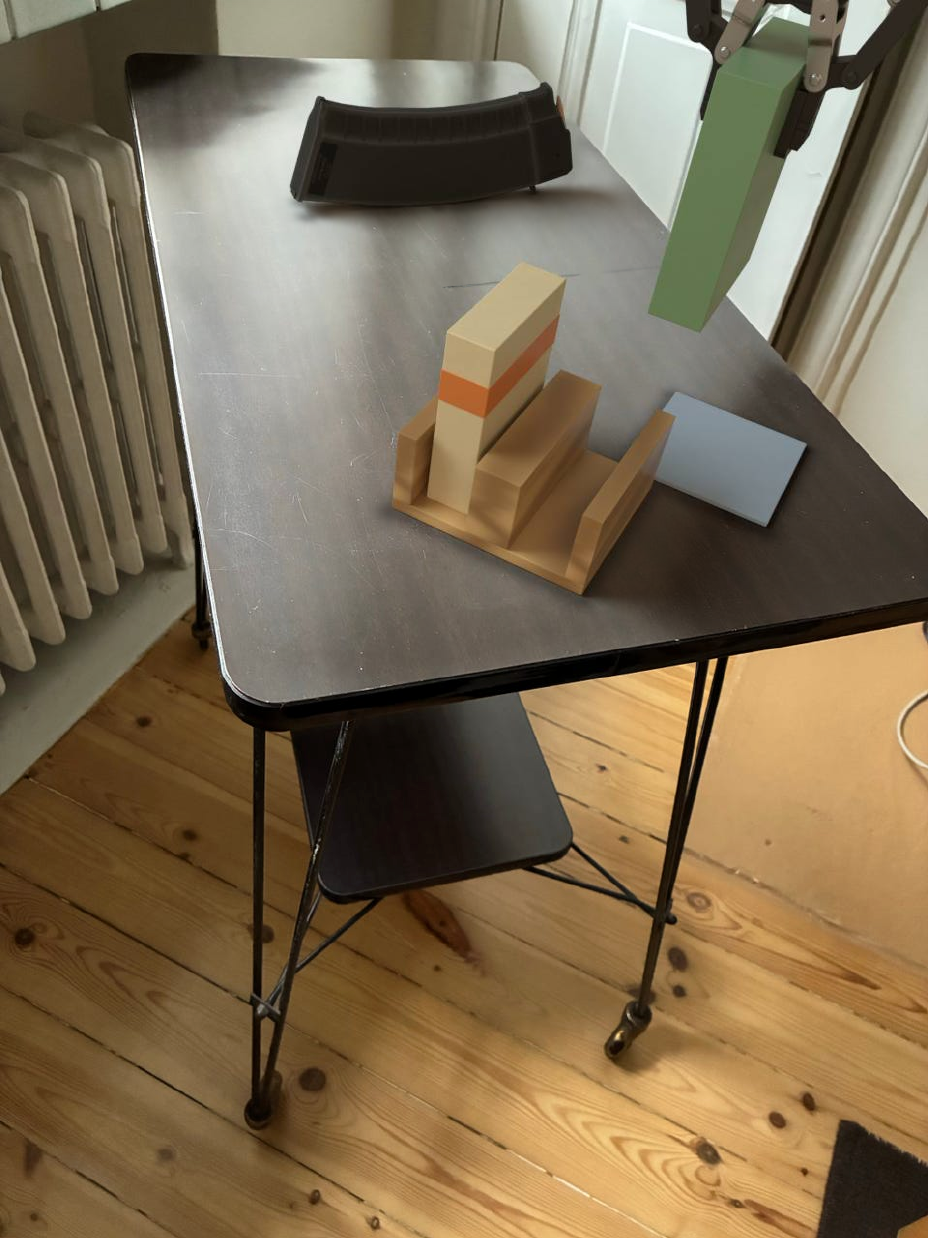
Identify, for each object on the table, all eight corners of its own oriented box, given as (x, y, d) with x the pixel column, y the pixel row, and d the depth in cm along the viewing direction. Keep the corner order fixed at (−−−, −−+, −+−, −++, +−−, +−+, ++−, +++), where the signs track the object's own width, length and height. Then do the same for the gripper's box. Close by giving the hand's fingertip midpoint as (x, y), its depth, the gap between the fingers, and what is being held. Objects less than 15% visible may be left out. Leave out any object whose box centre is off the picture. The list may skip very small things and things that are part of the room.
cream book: (533, 438, 78) (568, 277, 68) (468, 516, 71) (495, 351, 61) (493, 421, 79) (521, 260, 69) (425, 497, 72) (445, 330, 62)
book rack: (651, 487, 78) (676, 415, 72) (580, 595, 69) (603, 523, 64) (479, 413, 81) (490, 339, 76) (391, 507, 73) (397, 432, 67)
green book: (749, 259, 67) (832, 32, 56) (700, 333, 60) (783, 89, 49) (701, 242, 67) (773, 15, 57) (646, 313, 61) (717, 69, 50)
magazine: (270, 123, 92) (564, 18, 94) (262, 108, 93) (550, 5, 96) (320, 279, 105) (576, 184, 108) (312, 263, 107) (563, 170, 110)
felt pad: (805, 447, 84) (807, 443, 83) (765, 527, 76) (767, 523, 76) (674, 394, 86) (676, 390, 86) (624, 467, 79) (625, 463, 79)
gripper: (702, -278, 43) (612, 126, 56) (1029, -205, 40) (853, 205, 53) (750, -288, 48) (656, 87, 61) (1045, -223, 45) (880, 158, 58)
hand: (749, 140), depth 57 cm, fingers closed on green book, 3 cm apart
